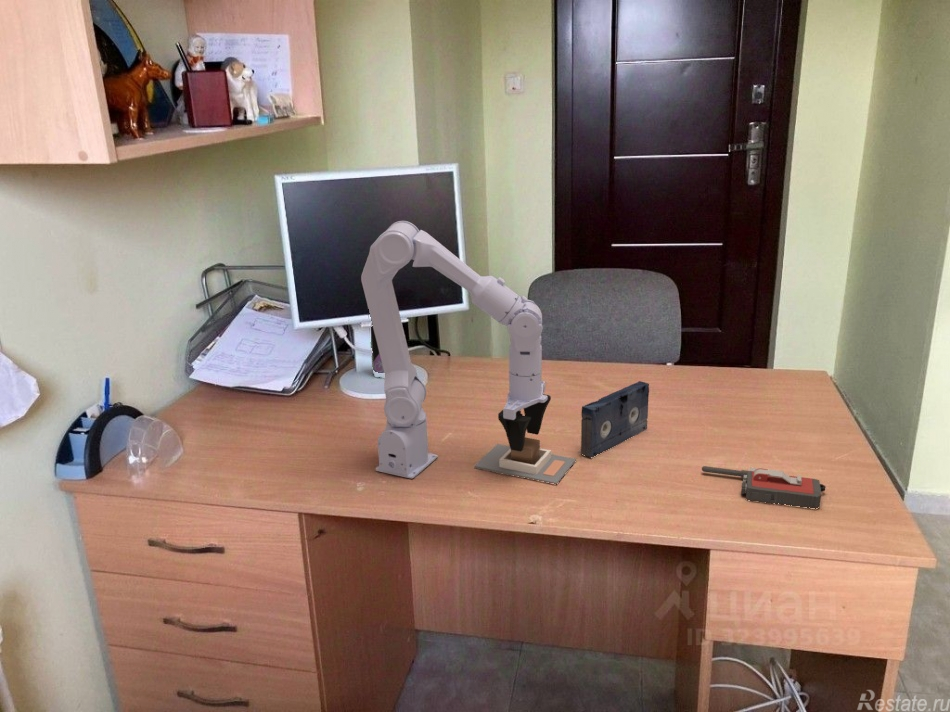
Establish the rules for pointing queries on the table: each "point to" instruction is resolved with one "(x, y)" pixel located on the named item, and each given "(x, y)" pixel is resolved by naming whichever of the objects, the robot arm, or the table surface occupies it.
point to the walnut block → (527, 452)
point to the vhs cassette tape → (614, 419)
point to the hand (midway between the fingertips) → (525, 441)
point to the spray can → (375, 354)
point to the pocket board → (526, 465)
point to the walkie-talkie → (776, 486)
